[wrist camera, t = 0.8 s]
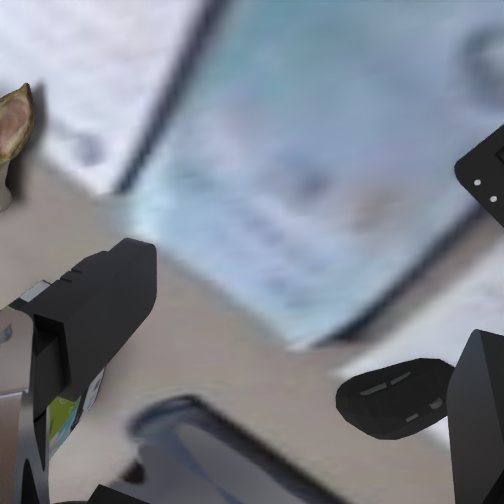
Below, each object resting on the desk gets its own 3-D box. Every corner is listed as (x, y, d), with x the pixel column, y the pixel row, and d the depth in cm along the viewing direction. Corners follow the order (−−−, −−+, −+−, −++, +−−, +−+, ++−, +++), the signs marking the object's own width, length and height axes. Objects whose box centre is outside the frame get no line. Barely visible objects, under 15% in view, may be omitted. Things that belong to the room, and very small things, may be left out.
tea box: (98, 402, 56) (8, 515, 43) (29, 364, 56) (-79, 464, 44) (122, 319, 47) (20, 429, 35) (41, 275, 48) (-87, 368, 36)
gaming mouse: (513, 387, 38) (524, 424, 34) (359, 429, 45) (355, 462, 42) (478, 331, 36) (484, 364, 33) (324, 383, 44) (317, 414, 40)
